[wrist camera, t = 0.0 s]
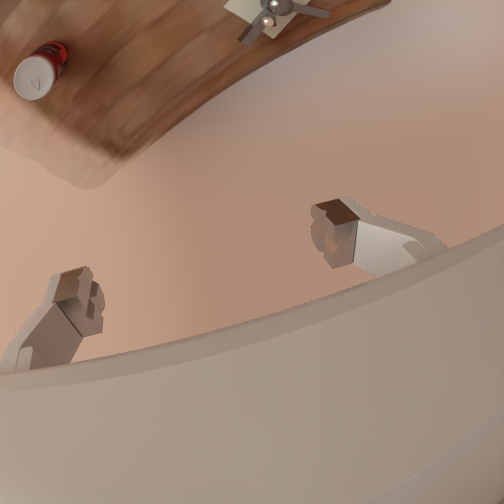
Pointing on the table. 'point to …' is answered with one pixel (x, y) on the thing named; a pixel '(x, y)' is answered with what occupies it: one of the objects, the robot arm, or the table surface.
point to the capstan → (281, 5)
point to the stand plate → (248, 8)
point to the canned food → (40, 70)
